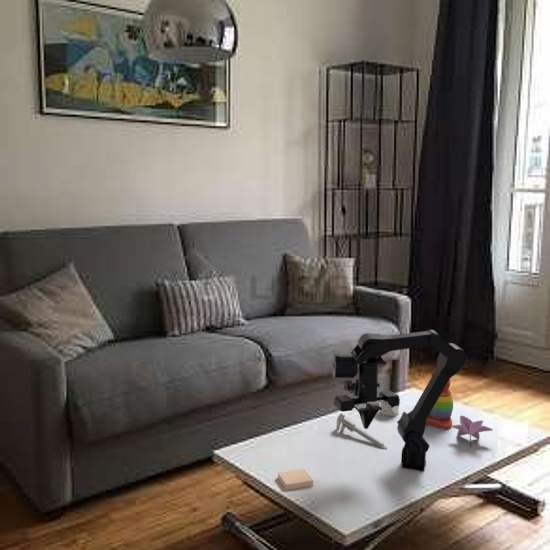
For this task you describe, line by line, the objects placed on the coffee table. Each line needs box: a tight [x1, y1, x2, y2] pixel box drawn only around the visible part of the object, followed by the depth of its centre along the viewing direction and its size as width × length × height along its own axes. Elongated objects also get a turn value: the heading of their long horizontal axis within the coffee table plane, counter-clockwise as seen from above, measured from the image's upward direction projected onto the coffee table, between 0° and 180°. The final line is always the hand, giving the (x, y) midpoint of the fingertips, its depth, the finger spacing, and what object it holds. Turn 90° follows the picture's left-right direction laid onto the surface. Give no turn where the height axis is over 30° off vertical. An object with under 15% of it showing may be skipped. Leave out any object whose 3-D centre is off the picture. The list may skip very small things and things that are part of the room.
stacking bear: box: [426, 371, 454, 430], centre depth 219 cm, size 11×10×18 cm
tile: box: [277, 468, 314, 491], centre depth 178 cm, size 2×7×8 cm
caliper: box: [336, 412, 388, 450], centre depth 206 cm, size 20×1×6 cm, turn 43°
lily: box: [450, 415, 494, 448], centre depth 204 cm, size 12×12×10 cm
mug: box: [379, 392, 400, 417], centre depth 229 cm, size 10×7×7 cm, turn 149°
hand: (365, 428), depth 185 cm, fingers closed
